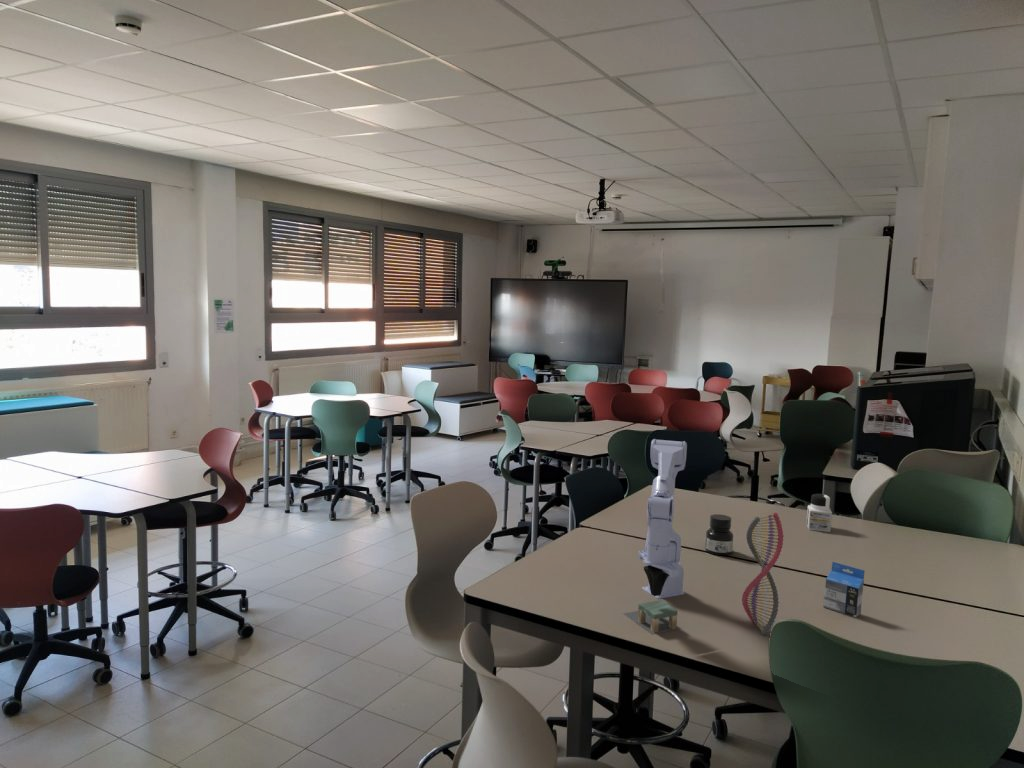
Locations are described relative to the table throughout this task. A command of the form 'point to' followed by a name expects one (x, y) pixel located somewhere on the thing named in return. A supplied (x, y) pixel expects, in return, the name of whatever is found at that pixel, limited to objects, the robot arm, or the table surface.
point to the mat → (647, 625)
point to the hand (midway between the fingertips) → (655, 594)
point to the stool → (657, 614)
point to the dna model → (763, 571)
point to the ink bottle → (719, 535)
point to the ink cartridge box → (844, 590)
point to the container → (819, 513)
